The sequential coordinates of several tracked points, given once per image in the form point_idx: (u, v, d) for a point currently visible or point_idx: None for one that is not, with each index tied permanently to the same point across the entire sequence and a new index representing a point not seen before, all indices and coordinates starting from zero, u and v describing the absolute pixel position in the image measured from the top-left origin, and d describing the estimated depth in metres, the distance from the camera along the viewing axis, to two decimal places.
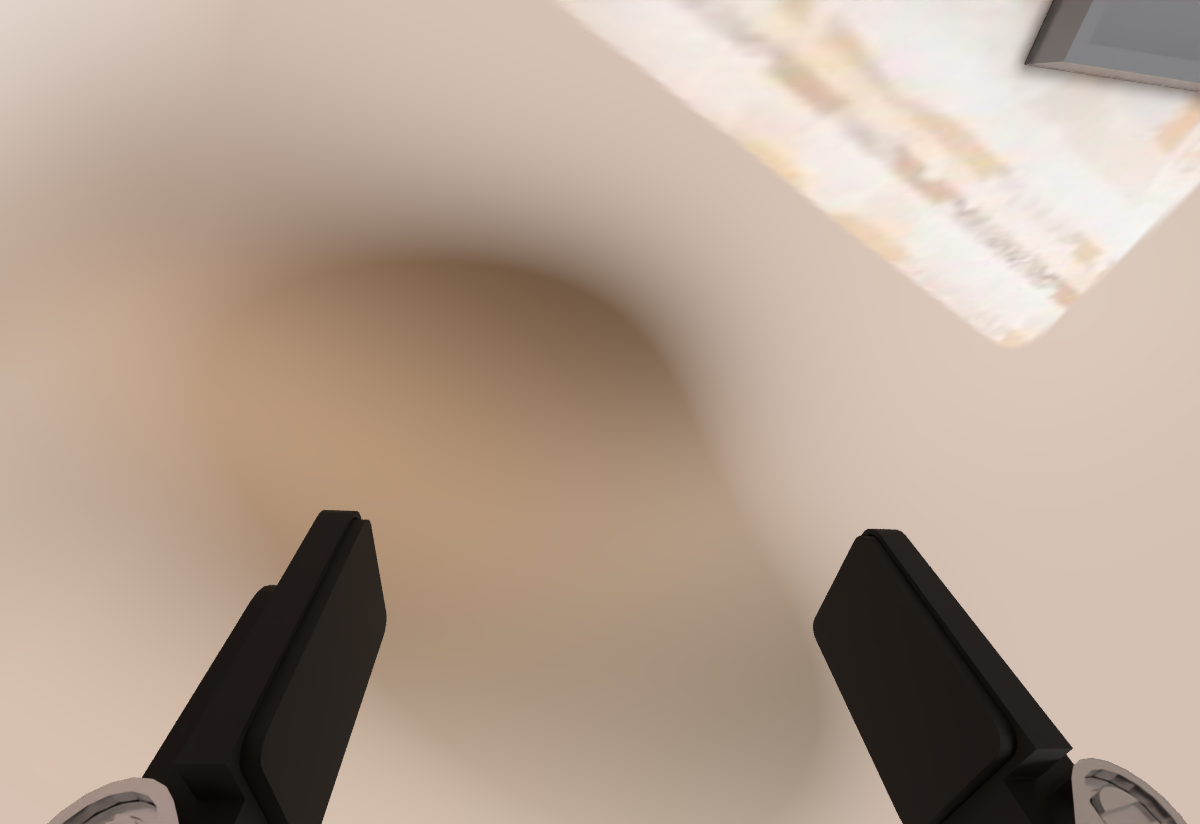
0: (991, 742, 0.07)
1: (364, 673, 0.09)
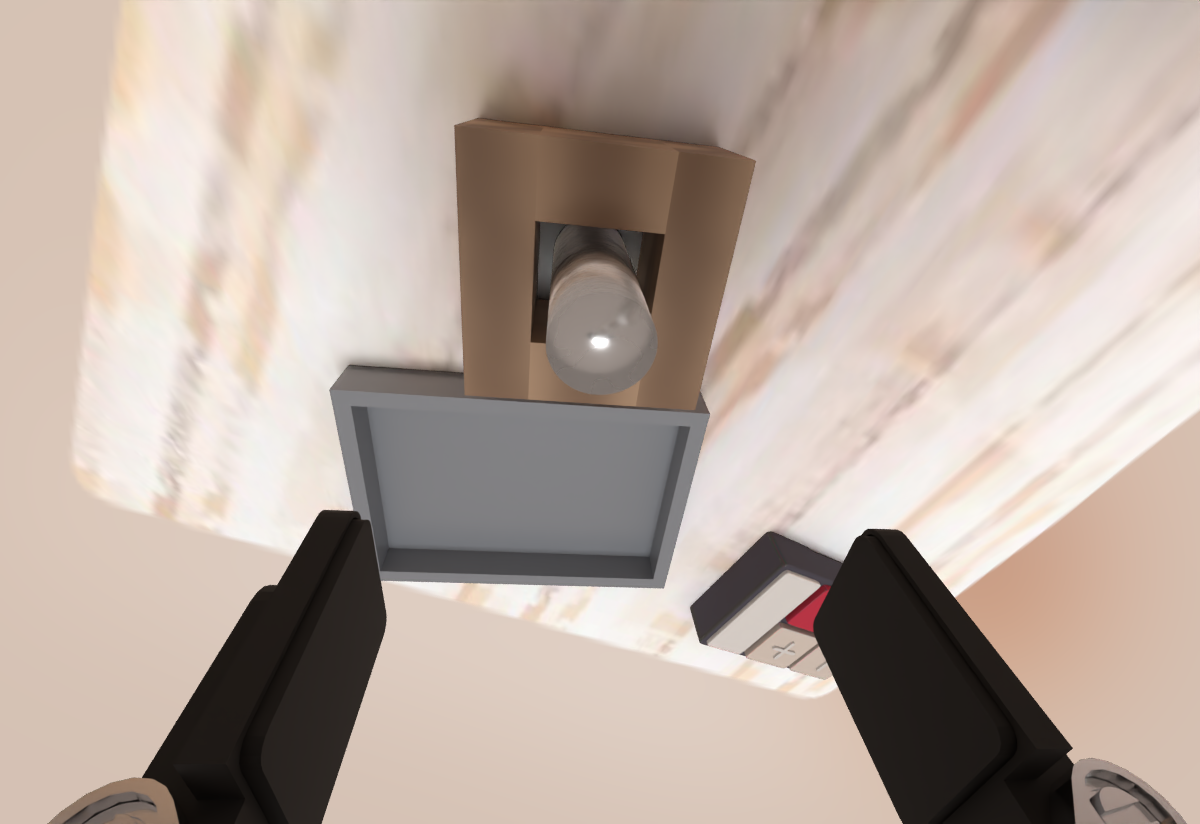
0: (991, 742, 0.07)
1: (364, 673, 0.09)
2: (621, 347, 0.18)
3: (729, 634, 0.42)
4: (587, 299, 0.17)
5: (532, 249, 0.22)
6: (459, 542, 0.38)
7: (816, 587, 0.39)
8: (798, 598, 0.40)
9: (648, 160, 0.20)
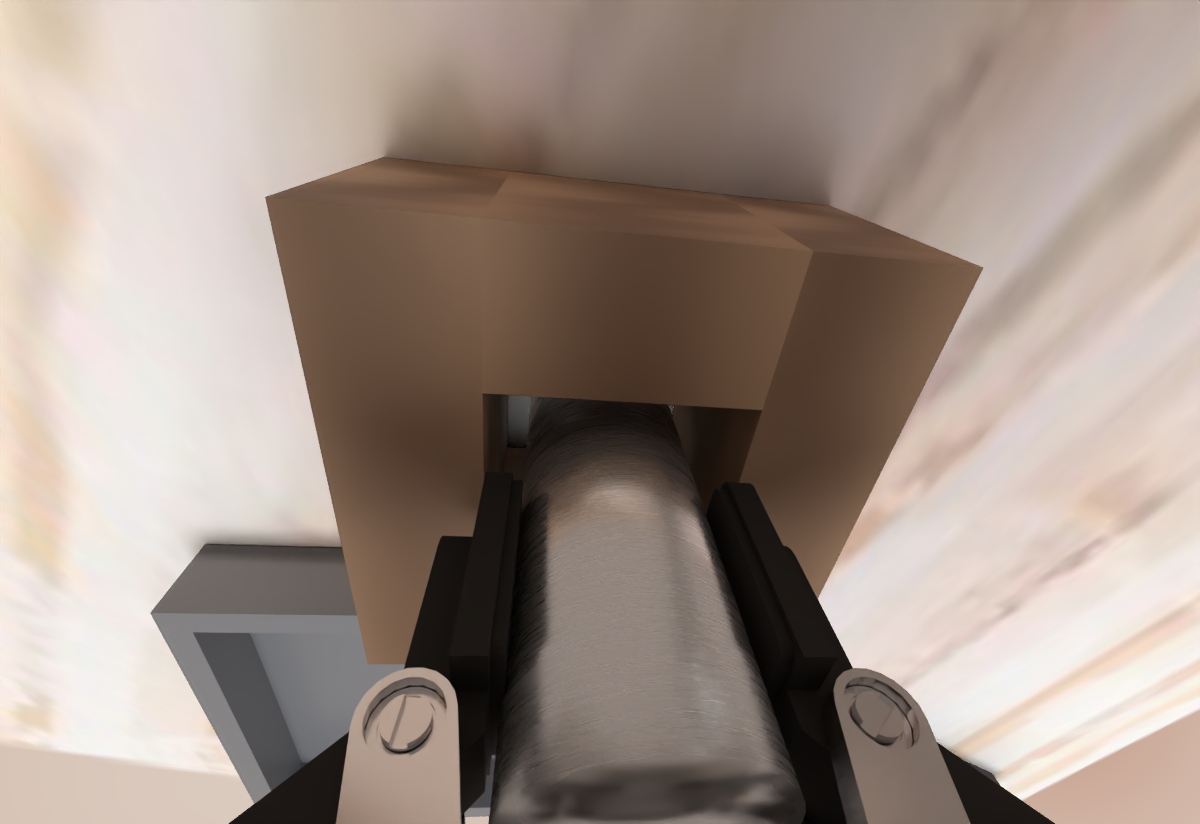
0: (776, 656, 0.07)
1: None
2: None
3: None
4: (610, 771, 0.05)
5: (479, 443, 0.10)
6: None
7: None
8: None
9: (741, 270, 0.09)
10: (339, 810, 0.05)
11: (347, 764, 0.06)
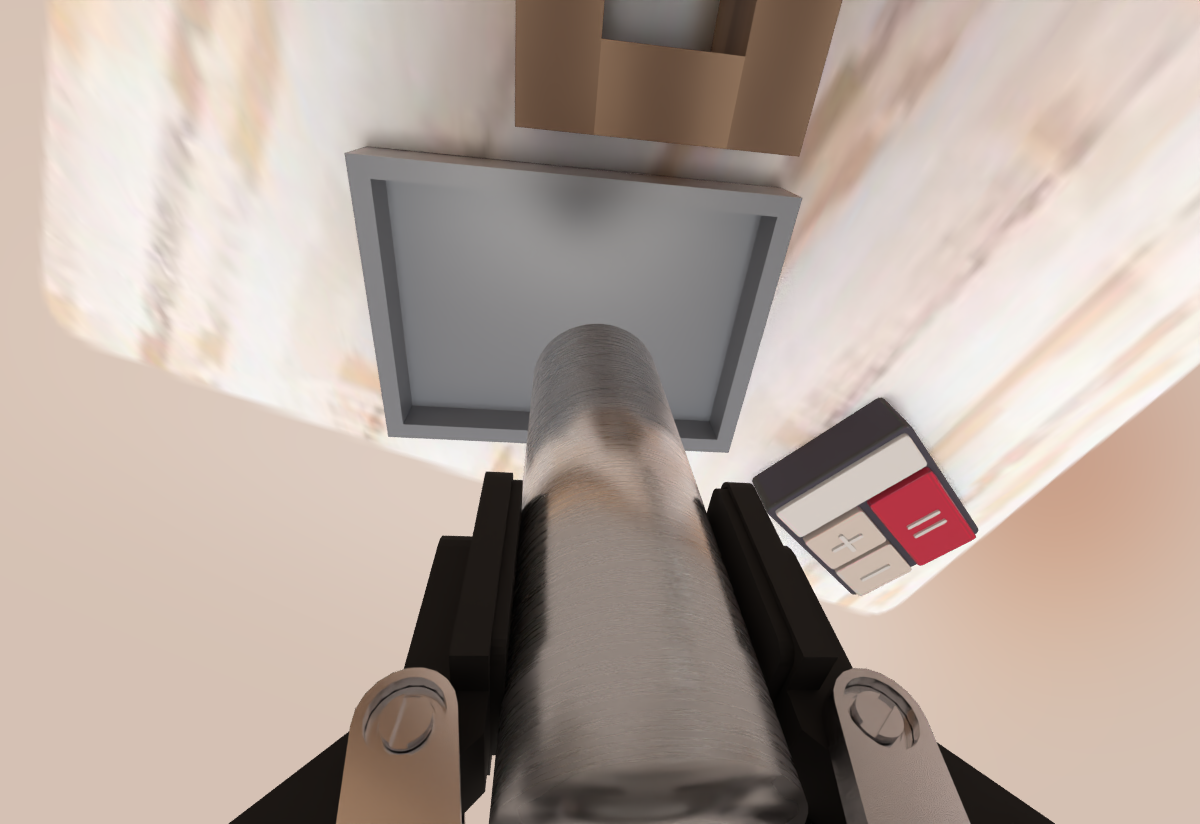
0: (776, 656, 0.07)
1: None
2: None
3: (805, 506, 0.36)
4: (611, 772, 0.05)
5: None
6: (493, 398, 0.33)
7: (922, 465, 0.35)
8: (897, 476, 0.35)
9: None
10: (339, 810, 0.05)
11: (347, 764, 0.06)
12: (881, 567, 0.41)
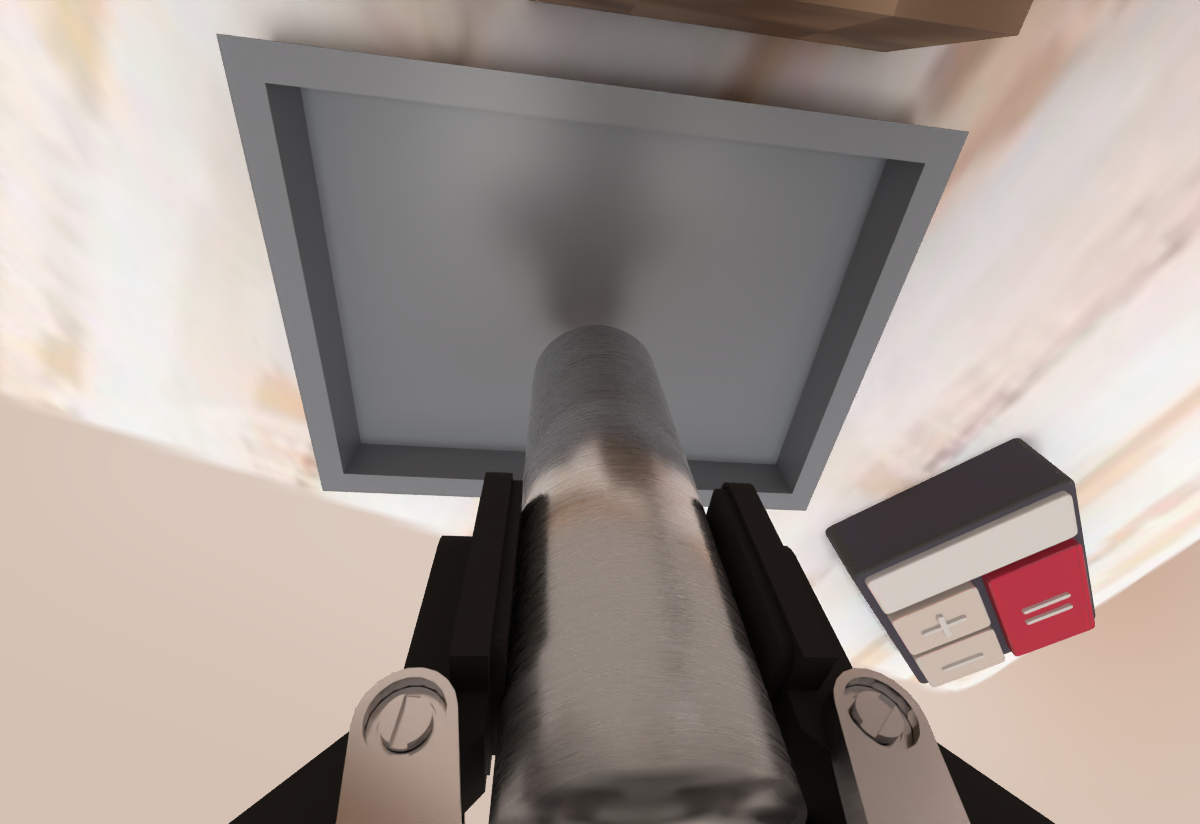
0: (776, 656, 0.07)
1: None
2: None
3: (907, 575, 0.27)
4: (609, 776, 0.05)
5: None
6: (476, 434, 0.24)
7: (1071, 535, 0.26)
8: (1034, 545, 0.26)
9: None
10: (339, 810, 0.05)
11: (347, 764, 0.06)
12: (971, 656, 0.32)
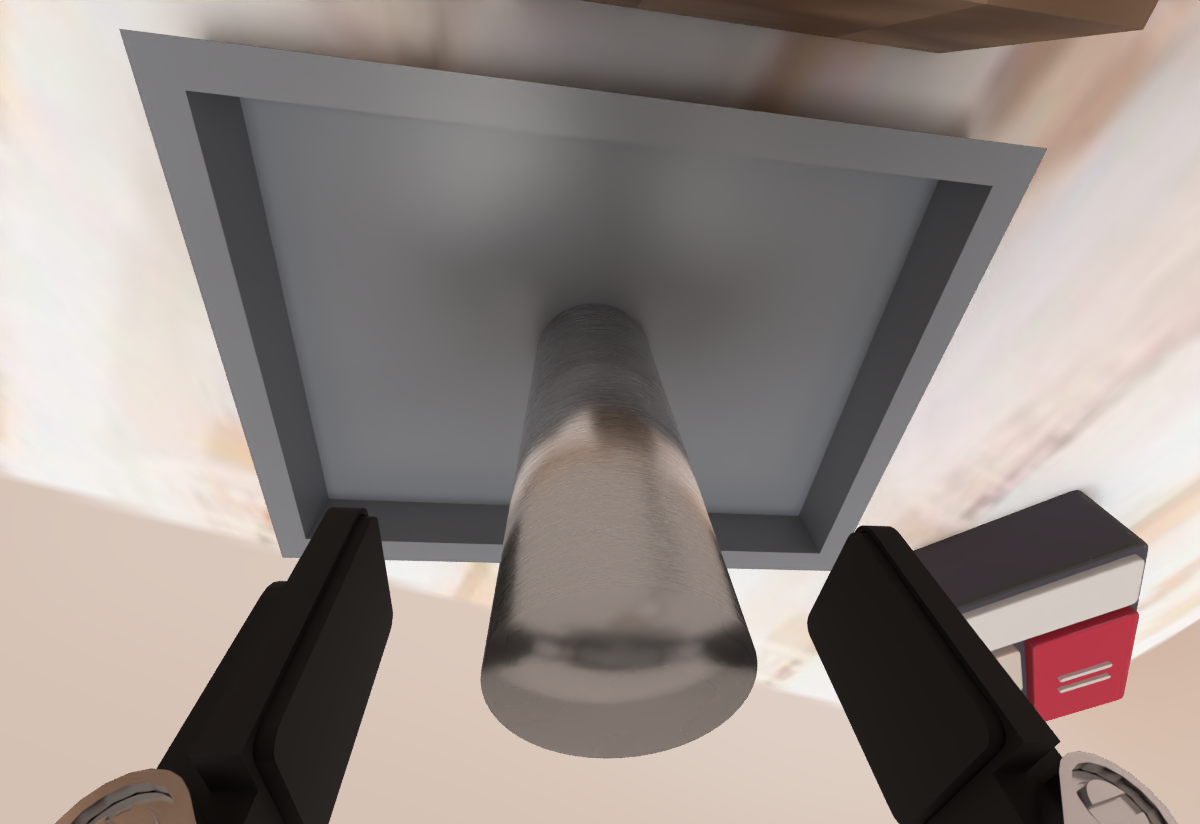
0: (980, 736, 0.07)
1: (371, 668, 0.09)
2: (666, 683, 0.07)
3: None
4: (582, 600, 0.07)
5: None
6: (460, 487, 0.21)
7: (1131, 602, 0.23)
8: (1090, 611, 0.24)
9: None
10: None
11: None
12: None
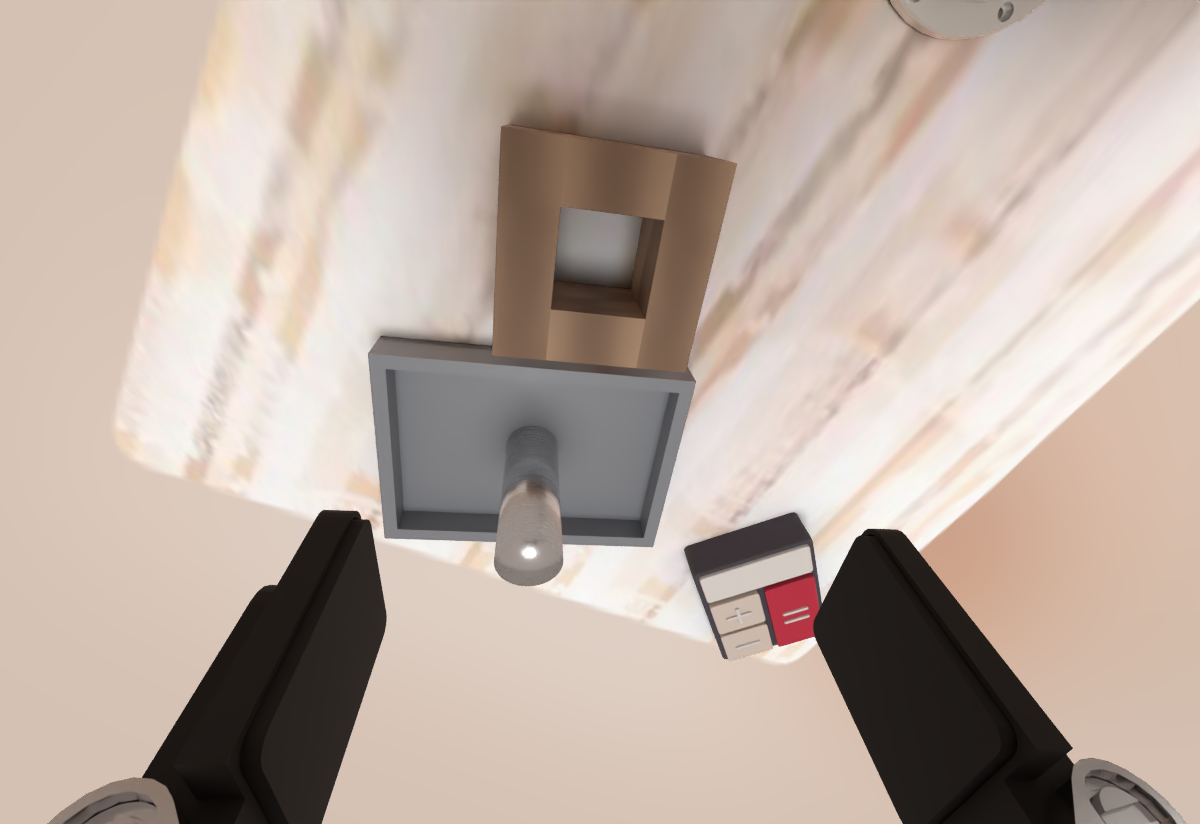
0: (991, 742, 0.07)
1: (364, 673, 0.09)
2: (540, 562, 0.30)
3: (722, 579, 0.46)
4: (518, 540, 0.29)
5: (557, 229, 0.27)
6: (468, 505, 0.42)
7: (809, 570, 0.47)
8: (791, 573, 0.47)
9: (653, 160, 0.26)
10: None
11: None
12: (753, 641, 0.52)
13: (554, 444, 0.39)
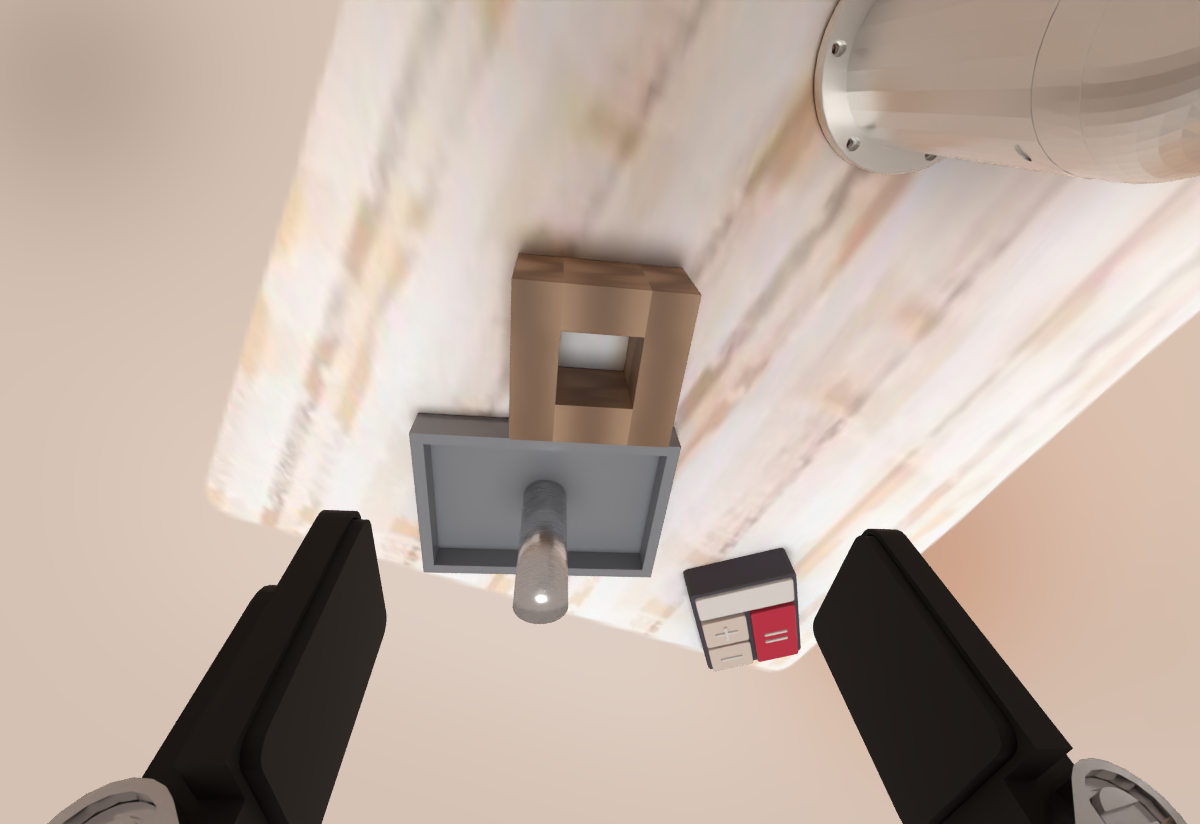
0: (991, 742, 0.07)
1: (364, 673, 0.09)
2: (550, 606, 0.37)
3: (715, 602, 0.53)
4: (532, 590, 0.36)
5: (558, 347, 0.34)
6: (492, 542, 0.50)
7: (791, 599, 0.53)
8: (774, 601, 0.53)
9: (633, 295, 0.32)
10: None
11: None
12: (736, 656, 0.58)
13: (563, 496, 0.46)
